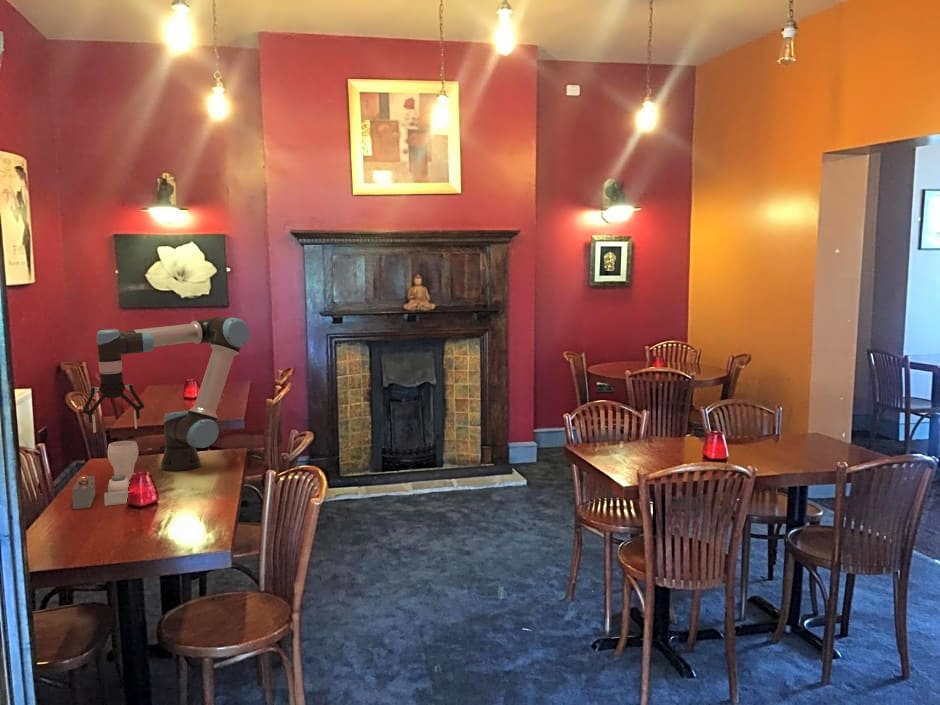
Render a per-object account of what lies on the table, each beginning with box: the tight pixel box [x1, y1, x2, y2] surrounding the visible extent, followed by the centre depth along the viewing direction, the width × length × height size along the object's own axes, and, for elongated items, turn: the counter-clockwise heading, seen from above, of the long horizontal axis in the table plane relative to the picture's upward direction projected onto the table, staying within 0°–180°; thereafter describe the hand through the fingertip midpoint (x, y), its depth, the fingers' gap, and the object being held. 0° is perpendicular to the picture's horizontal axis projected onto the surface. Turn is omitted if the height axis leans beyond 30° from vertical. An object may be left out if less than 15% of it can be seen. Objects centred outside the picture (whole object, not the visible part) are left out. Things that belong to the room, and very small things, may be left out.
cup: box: [107, 440, 139, 482], centre depth 282 cm, size 11×11×15 cm
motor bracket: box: [71, 475, 130, 510], centre depth 259 cm, size 18×16×9 cm
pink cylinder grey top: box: [108, 475, 128, 492], centre depth 261 cm, size 6×6×8 cm
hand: (115, 429), depth 270 cm, fingers open, 13 cm apart
